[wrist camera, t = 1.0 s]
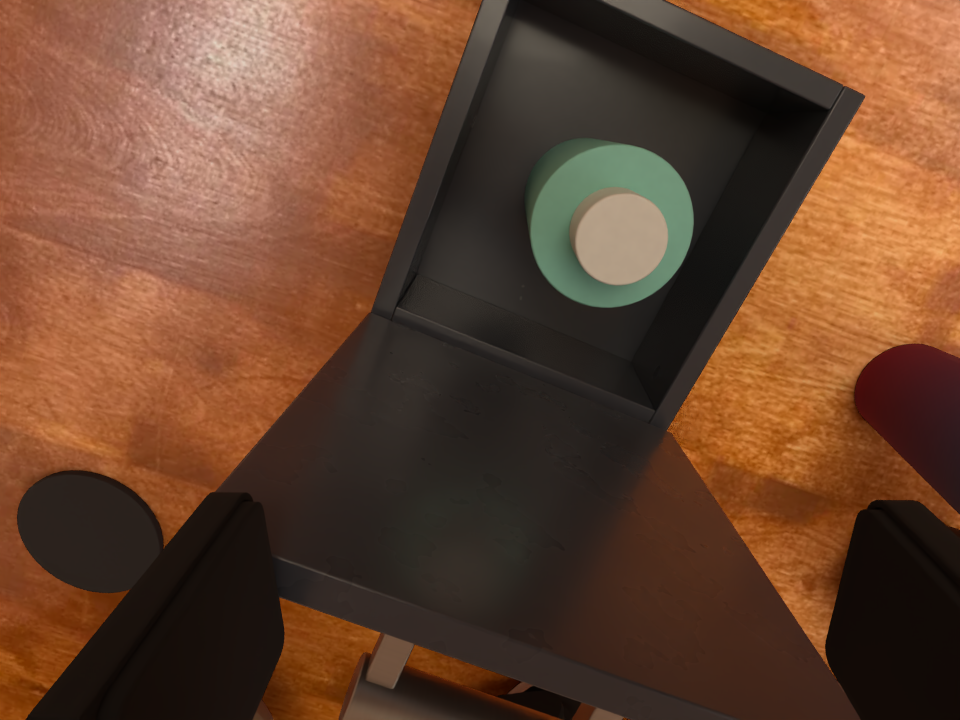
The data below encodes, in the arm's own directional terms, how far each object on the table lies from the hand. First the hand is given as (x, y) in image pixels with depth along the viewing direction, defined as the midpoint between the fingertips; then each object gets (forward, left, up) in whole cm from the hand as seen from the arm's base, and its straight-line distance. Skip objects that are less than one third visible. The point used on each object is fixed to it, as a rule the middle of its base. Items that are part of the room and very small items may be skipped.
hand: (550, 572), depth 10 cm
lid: (+2, -2, -8) cm, 8 cm away
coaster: (-9, -31, -23) cm, 40 cm away
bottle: (0, +4, -22) cm, 23 cm away
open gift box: (0, +4, -23) cm, 23 cm away
